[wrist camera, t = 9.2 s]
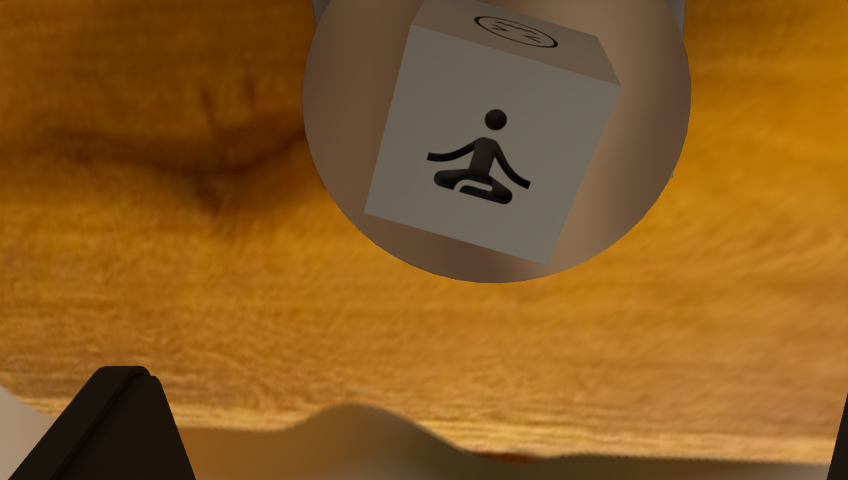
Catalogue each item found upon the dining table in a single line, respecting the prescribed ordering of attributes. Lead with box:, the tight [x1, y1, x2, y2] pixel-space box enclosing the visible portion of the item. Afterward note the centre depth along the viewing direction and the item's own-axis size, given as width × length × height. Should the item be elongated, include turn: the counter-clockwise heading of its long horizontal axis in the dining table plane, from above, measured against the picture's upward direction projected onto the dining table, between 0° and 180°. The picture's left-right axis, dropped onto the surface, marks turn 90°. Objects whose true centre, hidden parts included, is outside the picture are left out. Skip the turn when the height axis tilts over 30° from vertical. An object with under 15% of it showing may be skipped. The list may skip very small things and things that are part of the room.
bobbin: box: [302, 0, 691, 283], centre depth 27 cm, size 16×14×12 cm
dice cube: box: [364, 0, 622, 265], centre depth 19 cm, size 5×5×5 cm
